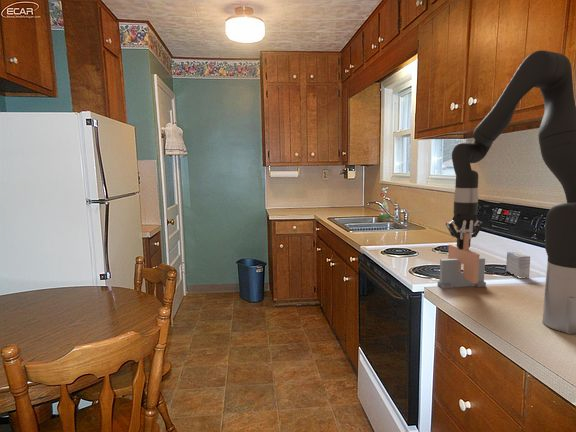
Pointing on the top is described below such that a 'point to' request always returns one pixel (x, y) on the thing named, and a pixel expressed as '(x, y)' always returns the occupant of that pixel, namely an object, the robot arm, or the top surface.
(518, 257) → the medicine box
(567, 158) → the robot arm
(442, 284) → the grey notched panel
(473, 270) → the terracotta plate
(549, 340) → the top surface
